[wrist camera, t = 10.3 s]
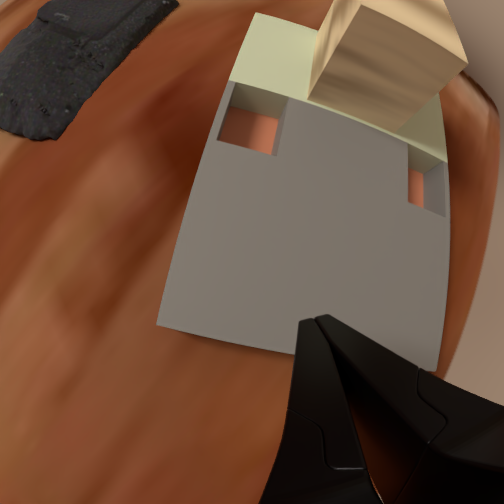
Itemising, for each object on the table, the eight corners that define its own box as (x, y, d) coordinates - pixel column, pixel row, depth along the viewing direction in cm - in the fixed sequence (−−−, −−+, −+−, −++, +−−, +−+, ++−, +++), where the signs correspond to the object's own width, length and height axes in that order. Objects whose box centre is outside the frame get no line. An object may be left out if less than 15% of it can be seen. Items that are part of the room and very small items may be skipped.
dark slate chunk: (-42, 116, 19) (-64, 91, 14) (84, -18, 25) (79, -46, 20) (56, 158, 20) (33, 126, 16) (190, -2, 26) (193, -35, 21)
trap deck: (406, 366, 22) (435, 371, 18) (162, 323, 19) (156, 324, 16) (418, 104, 27) (437, 86, 24) (248, 39, 25) (255, 12, 22)
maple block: (393, 133, 21) (468, 63, 13) (306, 99, 20) (360, 4, 12) (389, 65, 23) (443, 0, 15) (316, 35, 22) (356, -45, 14)
